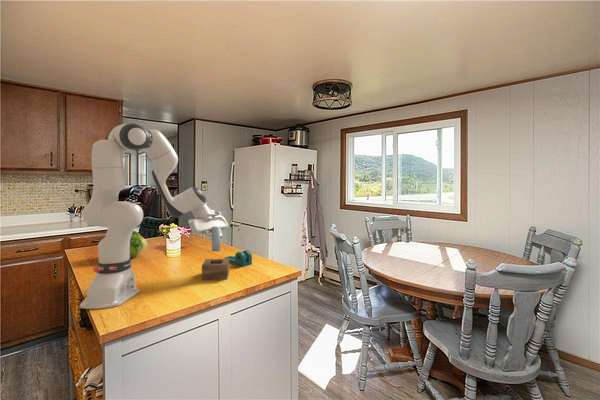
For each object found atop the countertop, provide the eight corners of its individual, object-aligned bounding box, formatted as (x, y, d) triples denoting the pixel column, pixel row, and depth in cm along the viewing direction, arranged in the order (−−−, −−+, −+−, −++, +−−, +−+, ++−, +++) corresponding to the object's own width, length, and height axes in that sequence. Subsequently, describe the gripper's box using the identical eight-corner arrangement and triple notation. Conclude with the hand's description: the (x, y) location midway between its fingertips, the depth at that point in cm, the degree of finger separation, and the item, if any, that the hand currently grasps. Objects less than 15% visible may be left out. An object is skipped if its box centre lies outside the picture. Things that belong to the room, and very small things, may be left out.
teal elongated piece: (251, 264, 171) (251, 251, 171) (242, 267, 166) (242, 253, 165) (231, 259, 182) (231, 246, 182) (222, 261, 177) (222, 248, 176)
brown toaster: (227, 279, 145) (227, 265, 145) (201, 280, 143) (201, 265, 143) (229, 271, 157) (229, 258, 156) (205, 272, 155) (205, 259, 155)
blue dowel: (219, 251, 148) (219, 227, 147) (211, 251, 147) (211, 227, 146) (220, 249, 151) (220, 226, 151) (212, 249, 151) (212, 226, 150)
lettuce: (152, 258, 183) (153, 228, 186) (111, 260, 165) (113, 228, 167) (137, 257, 195) (138, 229, 197) (96, 260, 176) (98, 229, 178)
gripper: (189, 214, 144) (201, 237, 139) (222, 211, 160) (235, 231, 155) (183, 223, 146) (196, 245, 141) (217, 219, 163) (229, 238, 158)
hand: (216, 238), depth 148 cm, fingers closed on blue dowel, 4 cm apart
